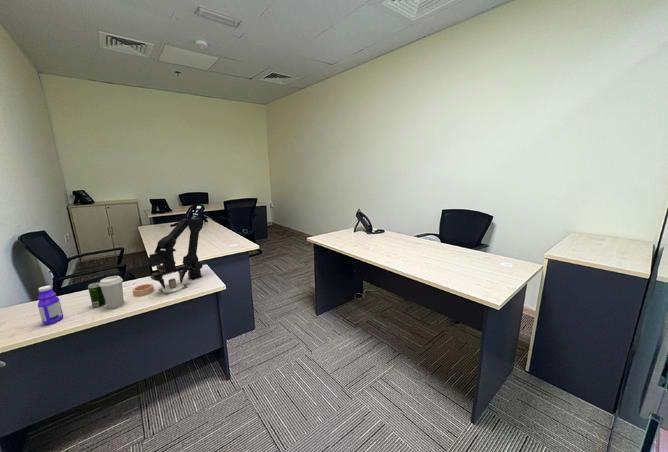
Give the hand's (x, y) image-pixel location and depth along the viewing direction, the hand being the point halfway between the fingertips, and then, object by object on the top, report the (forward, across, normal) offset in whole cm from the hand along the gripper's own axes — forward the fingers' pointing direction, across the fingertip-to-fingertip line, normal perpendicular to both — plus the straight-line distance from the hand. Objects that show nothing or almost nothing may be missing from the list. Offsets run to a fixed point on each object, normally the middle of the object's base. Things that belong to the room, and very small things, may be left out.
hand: (172, 285), depth 155 cm
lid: (+2, 0, 0) cm, 2 cm away
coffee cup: (+2, +26, -5) cm, 27 cm away
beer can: (+2, +31, -13) cm, 34 cm away
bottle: (+2, +48, -12) cm, 50 cm away
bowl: (+2, +12, -9) cm, 15 cm away
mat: (+2, 0, 0) cm, 2 cm away
